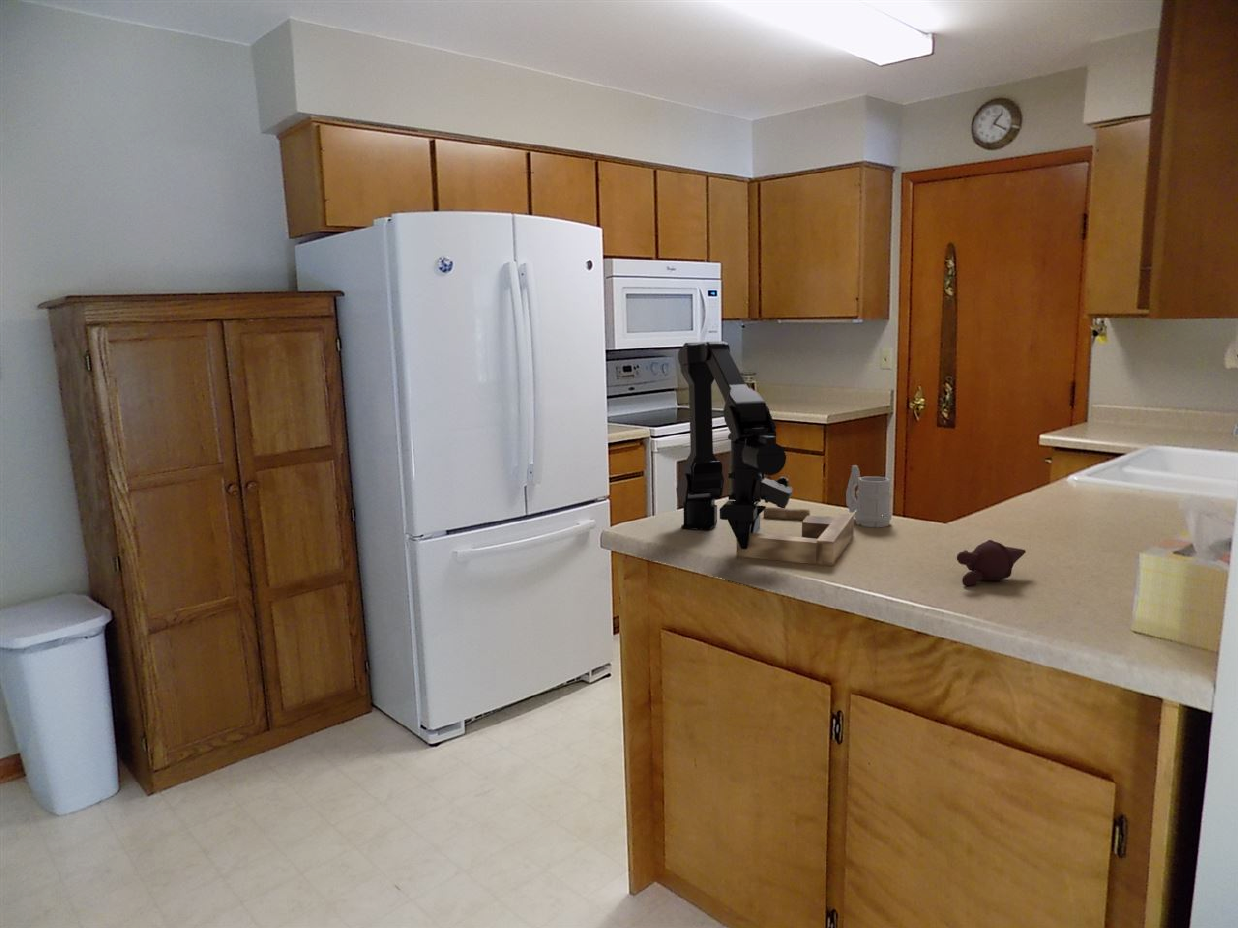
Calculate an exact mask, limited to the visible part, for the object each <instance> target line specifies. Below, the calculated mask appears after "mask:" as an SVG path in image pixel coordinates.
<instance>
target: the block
mask: <svg viewBox="0 0 1238 928" xmlns="http://www.w3.org/2000/svg"><path fill="white" fill-rule="evenodd" d="M835 518H836V517H831V516H818V515H817V516H816V515H810V516H807V517H806V518H805V519H804V520H802V522H801V537H804V538H815V539H818V538H819V537H820V536H821V534H822V533H823V532H824V531H825V530H826V528H827V527H828V526H829V525H830V524H831V522H832V521H833V520H834V519H835Z"/></svg>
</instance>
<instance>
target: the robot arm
mask: <svg viewBox="0 0 1238 928" xmlns="http://www.w3.org/2000/svg"><path fill="white" fill-rule="evenodd" d="M730 349H731V348H730V345H729V343H728V342H726V341H721V340H720V341H706V342H704V341H702V342H685V343H683V345H682V347H681V348H679V349H678V352H677V359H678V360H677V361H678V365H679V366H680V367H679V368H680V374H681V375H682V377H683V378H684V381H686V383H687V384H688V403H689V404H688V405H689V409H688V410H689V437H690V438H689V439H690V440H689V443H690V444H689V445H690V446H689V447H690V452H689V455H688V456H687V458H686V460H685V462H684V464H683V465H682V466H683V467H682V469H683V471H682V472H683V473H682V475H681V477H680V479H679V481H678V483H677V486H676V487H675V488H676V497H677V499H679V500H681V502H683V506H682V507H683V524H681V526H680V527H681V529H691V530H702V531H703V530H706V531H710V530H712V529H713V528H714V527H715V526H716V525H717V523H718V505H717V504H715V503H716V502H715V501H716V500H717V499H718V500H721V499H722V496H723V495H722V494H723V489H724V485H725V484H724V483H725V480H724V479H725V478H724V474H723V463H722V462H721V460H718V458H717V457H716V456H715V454H714V441H713V437H714V436H713V435H714V434H713V431H714V430H713V394H712V385H713V383H714V381H715V383H716V385H717V387H718V390H719V392H720V394H721V395H722V398H723V401H724V406H723V410H722V413H723V417H724V418H723V419H724V423H725V424H726V426H727V428H728V430H729V432H730V433H729V434H728V436H727V439H728V440H730V471H729V472H728V479H730V493H728V499H727V501H726V502H725V503H724V504H723V505H722V506H721V507H720V508H719V519H720V520H722V521H723V520H724V521H728V522H727V523H728V524H729V526H730V528H731V531H733V534H734V536H735V538H736V542H737V541H738V543H739V545H740V547H741V549H747V547H748V542H749V536H750V533H753V532H754V528H755V524H756V520H757V518H758V517H759V514H760V515H761V513H764V509H765V508H766V507H767V506H766V505H760V504H759V503H760V502H761V501H764V503H767V504H768V503H770V504H773V505H775V506H776V508H786V506H788V504H789V502H790V498H791V496H792V494H793V491H794V489H793V487H792V486H790V481H789V478H787V477H784V476H780V477H779V478H778V479H776V481H775V479H772V480H771V479H769V478H767V477H766V476H773V475H777V474H778V473H780V472H781V471H782V470H783V469H784V467H785V465H786V462H787V455H786V452H785V450H784V448H783V447H782V446H781V445H779V444H778V443H777V435H778V434H777V431H776V429H777V426H776V424H775V421H774V419H773V417H772V415H771V411H770V409H769V406H768V405H767V403H766V402H765V400H764V399H763V398H762V396H761V394H760V393H759V392H758V391H755V390H753V389H752V388H750V387H748V385H747V383H746V381H745V379H744V377H743V376H742V374H741V373H742V372H740V370H739V367H738V365H737V364H736V362H735V359H734V358H733V356H732V355H731V350H730Z"/></svg>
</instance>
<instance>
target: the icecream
mask: <svg viewBox="0 0 1238 928" xmlns="http://www.w3.org/2000/svg"><path fill="white" fill-rule="evenodd" d="M1026 552H1027V550H1025V549H1022V548H1017V547H1010V546H1004V544H1002V543H1000V542H998V541H994V540H993V539H988V540H987V541H985V542H982V543H980V544H979V545H977V546H976V547H975V548H974V549H973V550H972V552H969V551H968V550H965V549H964V550H963V551H959V552H958V553H957V555H956V561H957V562H958V564H960V565H964V566H966V568H967V569H968V572H967V573H965V574H964V575H963V577H962V579H961V581H962V582H961V583H962V585H964V586H965V587H972V586H974V585H976V584H977V583H978V582H980V581H981V580H983V581H992V582H995V581H1001V580H1005V579H1008V578H1010V577H1011V575H1012V571H1013V567H1014V565H1015V563H1017V562H1018V560H1020V558H1022V556H1024V555H1025V554H1026Z"/></svg>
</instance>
